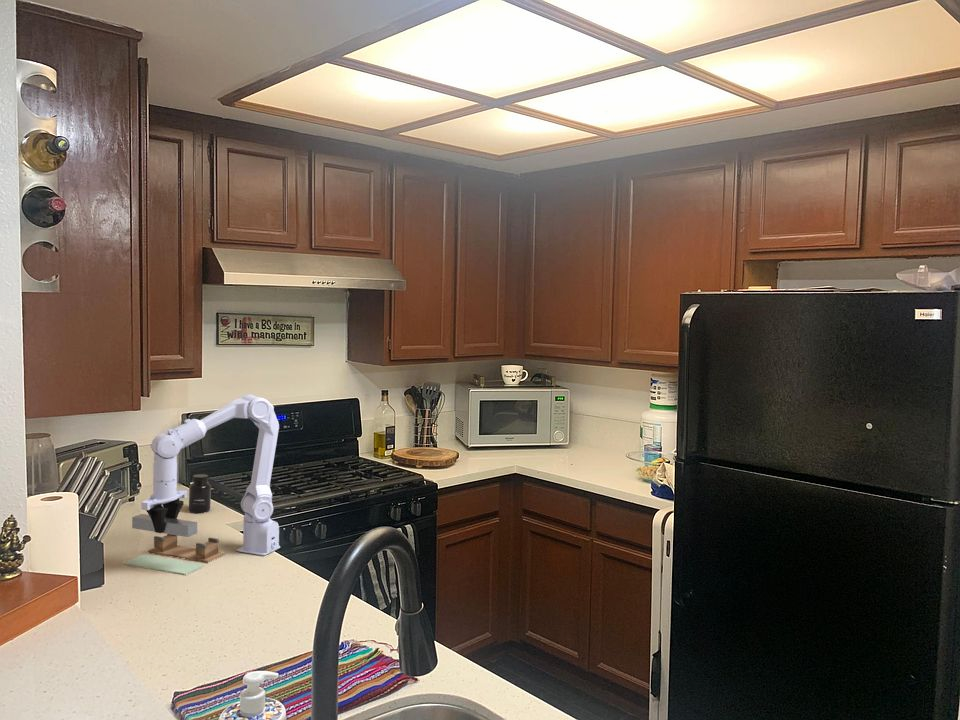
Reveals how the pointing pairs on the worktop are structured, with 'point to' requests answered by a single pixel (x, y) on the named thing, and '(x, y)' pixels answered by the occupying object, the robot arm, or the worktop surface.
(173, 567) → the rubber mat
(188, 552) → the wooden stand
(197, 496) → the supplement bottle
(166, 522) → the steel rail
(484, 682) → the worktop surface
